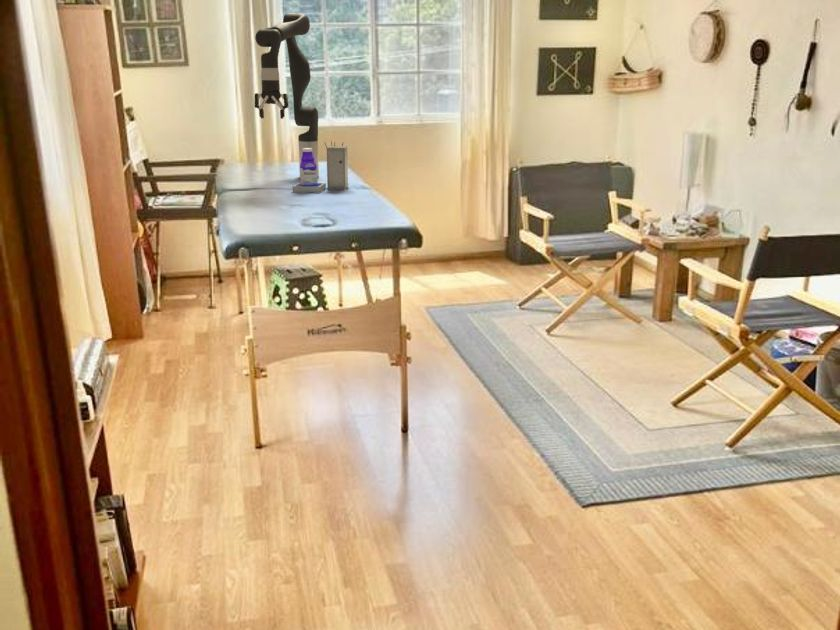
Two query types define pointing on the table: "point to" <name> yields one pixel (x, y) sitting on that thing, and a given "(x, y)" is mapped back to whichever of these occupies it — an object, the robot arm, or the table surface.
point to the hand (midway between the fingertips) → (272, 118)
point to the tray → (308, 188)
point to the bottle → (308, 169)
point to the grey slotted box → (337, 167)
